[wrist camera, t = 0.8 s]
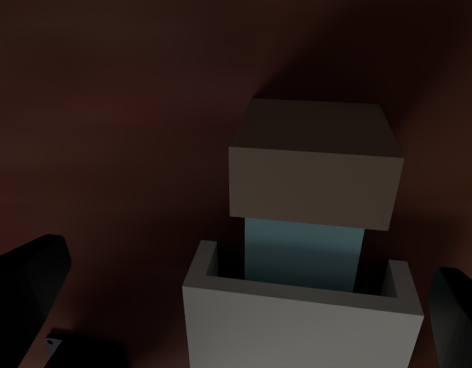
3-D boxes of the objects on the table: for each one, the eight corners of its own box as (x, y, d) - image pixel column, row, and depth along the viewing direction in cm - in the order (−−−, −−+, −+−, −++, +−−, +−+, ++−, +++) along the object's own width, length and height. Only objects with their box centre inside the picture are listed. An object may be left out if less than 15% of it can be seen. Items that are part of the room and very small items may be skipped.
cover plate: (337, 336, 26) (343, 428, 21) (248, 324, 27) (233, 409, 22) (378, 103, 18) (404, 158, 13) (251, 97, 19) (228, 146, 14)
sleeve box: (376, 373, 27) (386, 433, 23) (208, 348, 29) (193, 400, 25) (407, 261, 22) (424, 316, 19) (201, 240, 24) (182, 286, 20)
